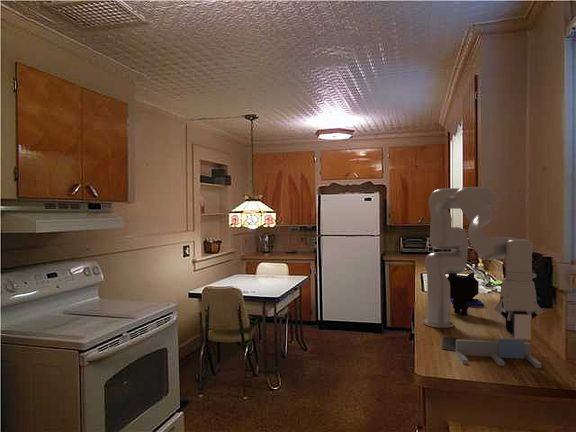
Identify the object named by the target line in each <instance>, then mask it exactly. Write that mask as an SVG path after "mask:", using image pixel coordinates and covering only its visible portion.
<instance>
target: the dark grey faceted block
mask: <svg viewBox="0 0 576 432" xmlns="http://www.w3.org/2000/svg"><path fill="white" fill-rule="evenodd" d="M511 320H512V321H513V332H512V333H510V332H509V331H507V329H506V328H505V329H506V331H505V332H507V333H508V334H509V335H511V336H512V337H513V339H520V340H531V339H532V333H531V332H532V321H531V315H529V314H527V313H525V312H513V314H512V318H511Z"/></svg>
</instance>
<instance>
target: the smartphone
mask: <svg viewBox="0 0 576 432" xmlns="http://www.w3.org/2000/svg"><path fill="white" fill-rule="evenodd" d="M456 339H462V340H464V339H463V338H460V337H452V336H451V337H450V336H443V337H442V341H441V347H440V348H441V350H443V351H448V352H453V353H454V352H455V353H456Z"/></svg>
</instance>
